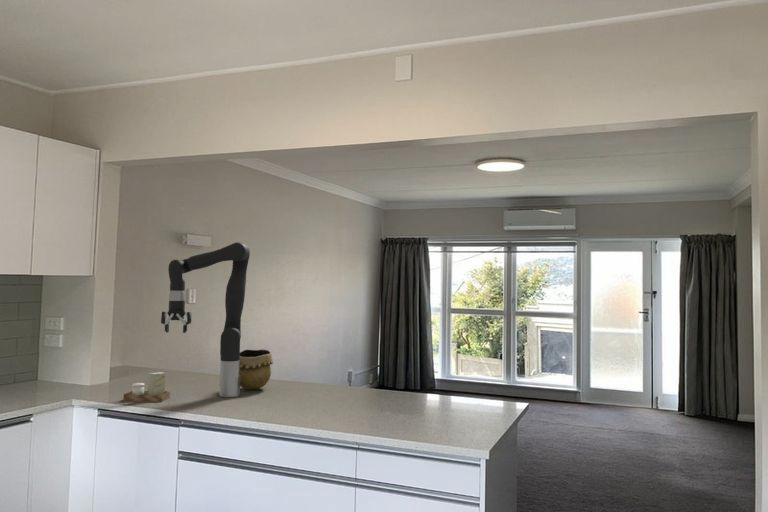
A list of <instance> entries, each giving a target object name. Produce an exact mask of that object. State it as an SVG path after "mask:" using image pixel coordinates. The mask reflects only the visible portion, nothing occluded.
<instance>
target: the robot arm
mask: <svg viewBox="0 0 768 512" xmlns="http://www.w3.org/2000/svg"><path fill="white" fill-rule="evenodd" d="M250 255H251V251H250V247H249V246H248V245H247V244H246V243H243V242H237V241H236V242H234V243H231V244H229V245H227V246H223V247H222V248H220V249H216V250H212V251H208V252H204V253H200V254H199V253H198V254H195V255H192V256H189V257H188V258H185V259H173V260H171V261H170V262H169V264H168V268H167V269H168V277H169V282H170V283H169V293H168V294H169V295H168V311H165V310H164V311H162V312H161V317H160V318H161V319H160V323H161V324H163V325H164V332H165V333H166V334H168V333H169V332H170V325H169V324H170V323H171V322H172V321H180V322H181V324H183V325H182V334H185V333H187V331H188V325H190V324H192V312H191V311H185V307H186V290H185V289H186V281H185V279H184V278H183V274H186V273H187V274H188V273H190V272H193V271H197V270H201V269H204V268H208V267H211V266H212V265H216V264H218V263H221V262H227V261H228V262H229V261H232V269H231V273H230V276H229V277H228V278H229V279H228V281H227V284H226V289H225V290H226V291H225V298H224V299H225V300H224V301H225V302H224V304H225V306H224V307H225V321H224V326H223V327H224V328H223V331H222V332H221V335H220V341H219V343H220V346H219V347H220V350H219V355H220V364H219V365H220V366H219V391H218V392H219V393H218V394H219V397H221V398H236V397H239V396H240V395H241V386H240V375H239V371H240V352H241V338H242V331H241V327H242V324H241V321H242V314H243V309H244V304H245V299H246V298H245V296H246V284H247V272H248V271H247V270H248V265H249V264H248V263H249V260H250ZM167 315H168V318H166V317H167ZM184 316H185V317H186V318H185V317H184Z"/></svg>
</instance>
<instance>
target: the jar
mask: <svg viewBox="0 0 768 512" xmlns="http://www.w3.org/2000/svg"><path fill="white" fill-rule="evenodd" d="M131 391H132V394H144V391H145V383H144V382H134V383H132V390H131Z"/></svg>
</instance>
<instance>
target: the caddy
mask: <svg viewBox="0 0 768 512" xmlns="http://www.w3.org/2000/svg"><path fill="white" fill-rule="evenodd" d="M170 398H171V391H168V390H167V391H166V390H165V393H164V394H162V395H149V394H148V390H144V394H132V390H131V391H128V392H126V393H124V394H123V399H122V400H123V402H149V403H150V402H151V403H152V402H153V403H155V402H156V403H157V402H158V403H160V402H162V403H163V402H165V401H166V400H168V399H170Z"/></svg>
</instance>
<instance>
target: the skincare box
mask: <svg viewBox="0 0 768 512" xmlns="http://www.w3.org/2000/svg"><path fill="white" fill-rule="evenodd" d="M147 384H148V387H147V391H148V394H149V395H162V394H164V393H165V391H166V388H165V387H166V372H162V371H159V372H149V373H148V383H147Z"/></svg>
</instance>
